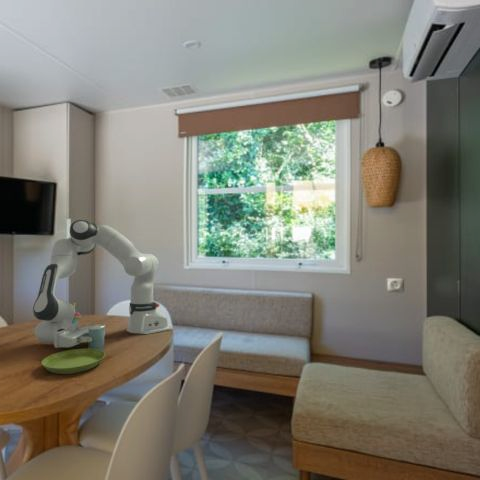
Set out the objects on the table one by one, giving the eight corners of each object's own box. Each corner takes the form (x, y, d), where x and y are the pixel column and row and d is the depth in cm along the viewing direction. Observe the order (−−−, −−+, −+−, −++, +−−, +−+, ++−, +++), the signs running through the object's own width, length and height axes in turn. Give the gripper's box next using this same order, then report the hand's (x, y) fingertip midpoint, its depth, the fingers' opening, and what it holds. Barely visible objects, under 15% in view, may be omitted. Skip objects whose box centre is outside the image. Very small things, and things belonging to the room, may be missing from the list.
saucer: (101, 374, 111) (101, 364, 111) (32, 380, 106) (33, 370, 106) (107, 353, 131) (108, 346, 131) (50, 358, 125) (50, 350, 125)
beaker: (103, 346, 140) (103, 323, 140) (105, 351, 134) (106, 326, 134) (87, 348, 136) (87, 325, 136) (88, 353, 131) (89, 328, 131)
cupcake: (70, 322, 181) (70, 300, 181) (84, 322, 180) (84, 301, 180) (59, 325, 172) (59, 303, 172) (74, 326, 171) (74, 303, 171)
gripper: (87, 334, 148) (113, 337, 145) (51, 349, 129) (80, 352, 125) (87, 321, 148) (113, 323, 145) (51, 333, 129) (81, 335, 125)
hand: (98, 336), depth 135 cm, fingers closed on beaker, 6 cm apart
